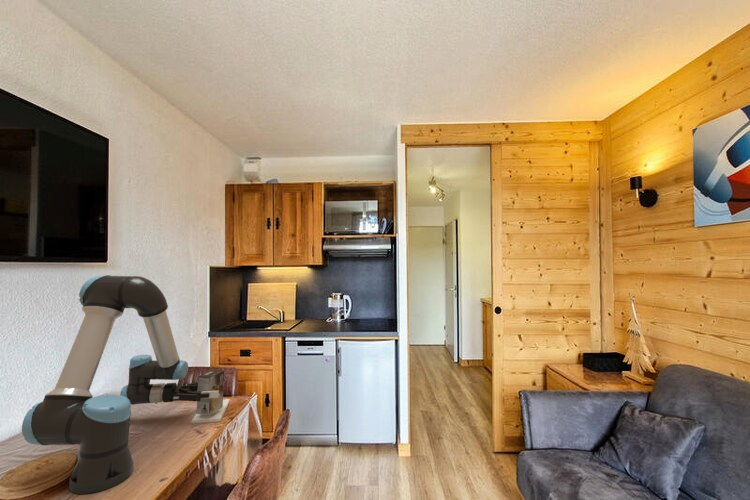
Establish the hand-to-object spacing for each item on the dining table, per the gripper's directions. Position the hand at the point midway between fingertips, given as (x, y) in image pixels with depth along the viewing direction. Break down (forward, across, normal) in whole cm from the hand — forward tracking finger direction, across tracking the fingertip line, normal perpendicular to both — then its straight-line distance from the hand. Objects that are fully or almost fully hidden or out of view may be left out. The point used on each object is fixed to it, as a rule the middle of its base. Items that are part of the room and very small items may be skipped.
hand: (221, 389), depth 146 cm
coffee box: (-4, 0, -9) cm, 10 cm away
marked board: (-4, -6, -12) cm, 14 cm away
